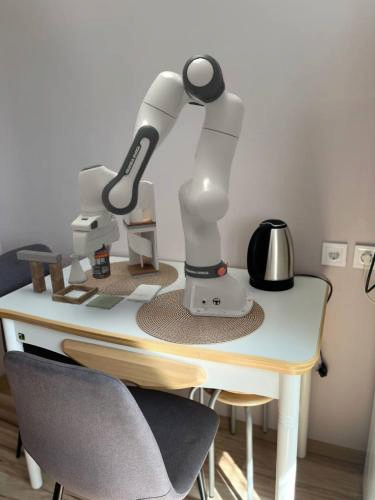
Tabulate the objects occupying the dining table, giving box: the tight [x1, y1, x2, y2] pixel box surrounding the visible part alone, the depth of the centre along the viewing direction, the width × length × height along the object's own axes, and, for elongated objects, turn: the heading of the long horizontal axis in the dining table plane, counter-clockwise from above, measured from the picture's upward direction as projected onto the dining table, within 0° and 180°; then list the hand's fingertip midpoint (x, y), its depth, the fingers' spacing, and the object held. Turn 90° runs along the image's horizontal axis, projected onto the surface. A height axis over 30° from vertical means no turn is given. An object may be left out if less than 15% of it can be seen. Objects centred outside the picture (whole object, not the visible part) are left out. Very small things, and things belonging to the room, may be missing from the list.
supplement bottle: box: [90, 244, 112, 280], centre depth 127 cm, size 6×6×11 cm
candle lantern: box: [121, 180, 160, 280], centre depth 152 cm, size 11×11×35 cm
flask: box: [67, 253, 88, 284], centre depth 150 cm, size 7×7×10 cm
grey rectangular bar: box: [16, 249, 63, 264], centre depth 138 cm, size 17×3×2 cm, turn 68°
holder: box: [28, 260, 100, 306], centre depth 137 cm, size 22×11×12 cm, turn 68°
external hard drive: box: [125, 283, 163, 304], centre depth 136 cm, size 2×8×12 cm
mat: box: [85, 293, 125, 310], centre depth 131 cm, size 9×9×1 cm
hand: (100, 261), depth 127 cm, fingers closed on supplement bottle, 6 cm apart
